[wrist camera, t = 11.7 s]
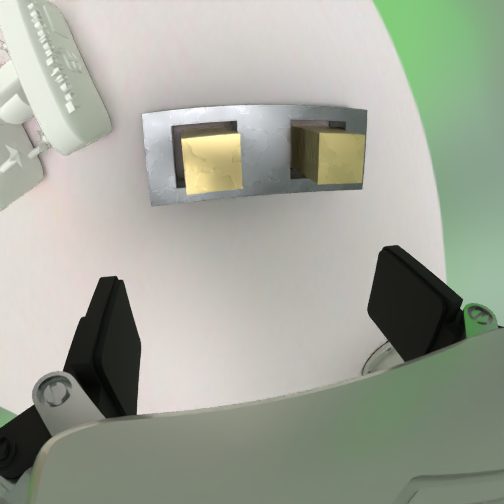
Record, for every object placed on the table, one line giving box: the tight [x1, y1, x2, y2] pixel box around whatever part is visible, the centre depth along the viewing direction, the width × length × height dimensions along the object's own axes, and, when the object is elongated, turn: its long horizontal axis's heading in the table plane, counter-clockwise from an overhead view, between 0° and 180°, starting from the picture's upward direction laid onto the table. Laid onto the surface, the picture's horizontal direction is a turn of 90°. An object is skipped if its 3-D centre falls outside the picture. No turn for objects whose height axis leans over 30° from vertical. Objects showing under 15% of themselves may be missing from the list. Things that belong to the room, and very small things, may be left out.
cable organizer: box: [0, 0, 112, 212], centre depth 16 cm, size 15×11×12 cm
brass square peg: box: [181, 126, 243, 195], centre depth 24 cm, size 4×4×8 cm
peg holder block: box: [142, 104, 367, 206], centre depth 25 cm, size 20×8×8 cm, turn 91°
